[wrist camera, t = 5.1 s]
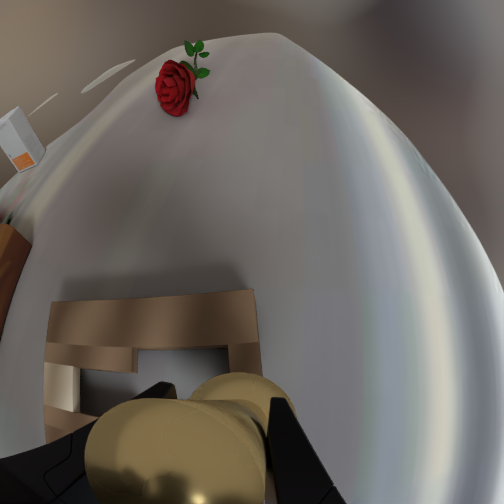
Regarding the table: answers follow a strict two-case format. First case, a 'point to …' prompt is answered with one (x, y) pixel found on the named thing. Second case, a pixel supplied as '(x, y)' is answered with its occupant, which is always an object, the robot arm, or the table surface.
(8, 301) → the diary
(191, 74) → the flower
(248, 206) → the table surface
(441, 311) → the table surface
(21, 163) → the skincare box
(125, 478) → the brass peg
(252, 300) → the keyhole plate
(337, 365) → the table surface
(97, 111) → the table surface
